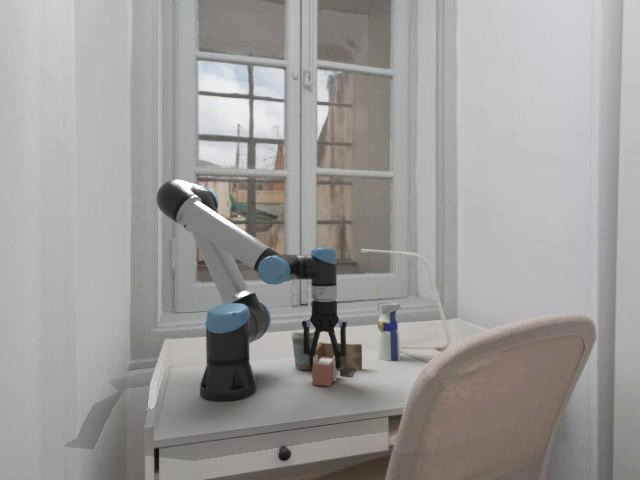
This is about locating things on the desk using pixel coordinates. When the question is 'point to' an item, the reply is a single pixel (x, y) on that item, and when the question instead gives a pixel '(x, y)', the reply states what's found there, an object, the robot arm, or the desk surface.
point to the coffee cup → (301, 348)
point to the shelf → (343, 357)
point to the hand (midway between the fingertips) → (325, 378)
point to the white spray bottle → (388, 331)
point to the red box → (323, 371)
